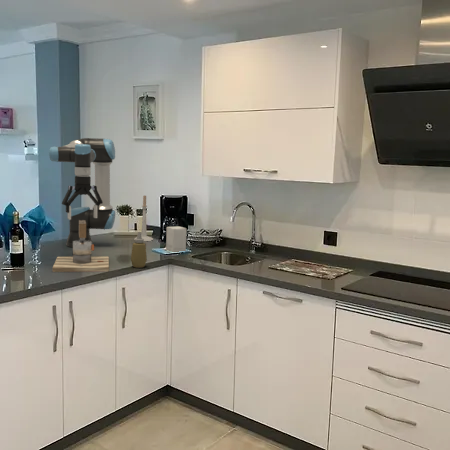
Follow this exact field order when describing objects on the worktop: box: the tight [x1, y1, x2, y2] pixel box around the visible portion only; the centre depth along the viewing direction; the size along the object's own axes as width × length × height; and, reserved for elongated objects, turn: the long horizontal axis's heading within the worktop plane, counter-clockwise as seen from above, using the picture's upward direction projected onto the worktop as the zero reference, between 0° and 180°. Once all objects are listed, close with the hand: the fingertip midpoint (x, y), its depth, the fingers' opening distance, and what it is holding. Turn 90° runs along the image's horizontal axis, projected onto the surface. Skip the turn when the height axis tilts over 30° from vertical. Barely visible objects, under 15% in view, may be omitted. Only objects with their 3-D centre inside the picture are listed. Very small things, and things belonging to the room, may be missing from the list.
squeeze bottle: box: [130, 231, 148, 268], centre depth 261 cm, size 8×8×18 cm
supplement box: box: [165, 226, 187, 252], centre depth 302 cm, size 9×9×15 cm
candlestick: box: [133, 195, 154, 242], centre depth 337 cm, size 13×13×30 cm
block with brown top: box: [72, 220, 95, 255], centre depth 257 cm, size 10×12×16 cm
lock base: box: [52, 253, 110, 273], centre depth 258 cm, size 26×26×6 cm
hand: (82, 218), depth 256 cm, fingers open, 13 cm apart
